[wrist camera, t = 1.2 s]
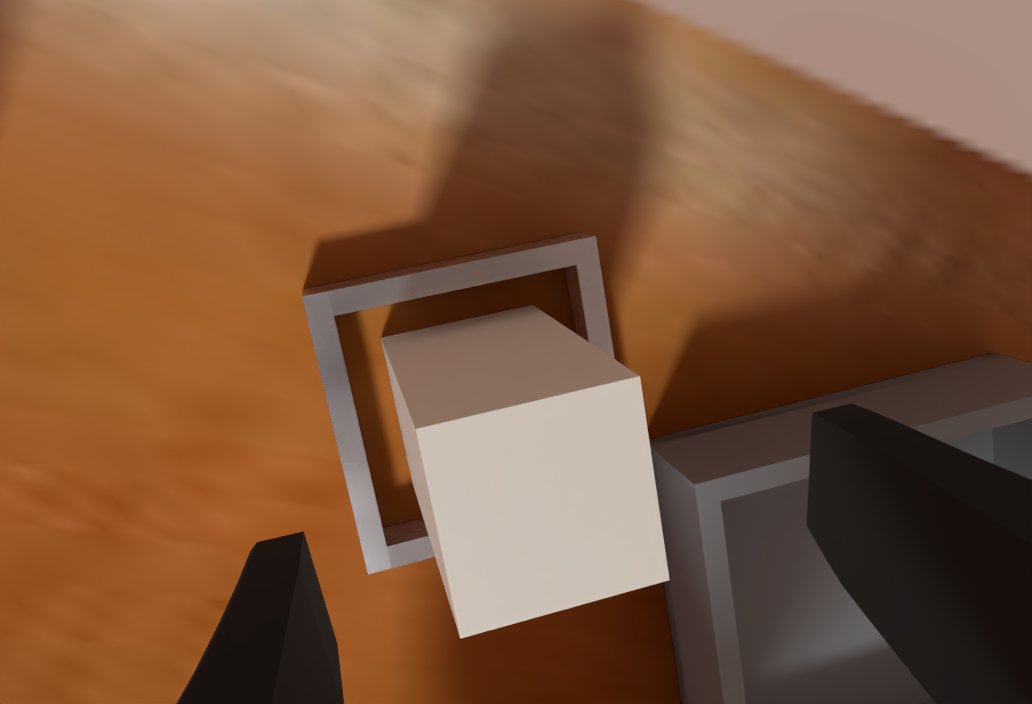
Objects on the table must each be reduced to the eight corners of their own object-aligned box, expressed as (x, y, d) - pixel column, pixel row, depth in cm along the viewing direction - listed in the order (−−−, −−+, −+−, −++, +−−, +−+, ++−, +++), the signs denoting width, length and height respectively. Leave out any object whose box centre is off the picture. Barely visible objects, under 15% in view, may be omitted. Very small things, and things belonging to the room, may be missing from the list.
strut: (557, 447, 24) (669, 579, 17) (412, 483, 24) (460, 638, 16) (532, 304, 23) (640, 376, 16) (380, 337, 23) (415, 429, 15)
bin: (1008, 678, 29) (1098, 744, 26) (693, 781, 27) (745, 866, 24) (994, 353, 27) (1092, 380, 23) (642, 440, 25) (694, 484, 21)
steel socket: (621, 488, 25) (636, 503, 24) (365, 554, 24) (367, 574, 22) (581, 232, 23) (595, 235, 22) (302, 289, 22) (302, 296, 21)
